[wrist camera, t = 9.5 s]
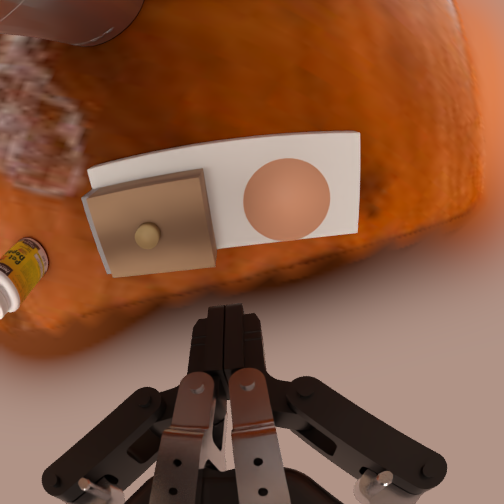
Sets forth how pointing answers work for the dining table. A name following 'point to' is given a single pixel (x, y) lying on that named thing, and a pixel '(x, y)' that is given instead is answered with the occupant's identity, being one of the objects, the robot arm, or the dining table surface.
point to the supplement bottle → (20, 273)
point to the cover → (155, 224)
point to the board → (259, 184)
